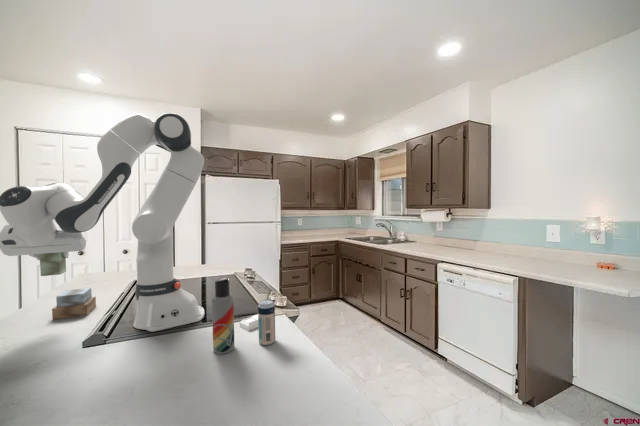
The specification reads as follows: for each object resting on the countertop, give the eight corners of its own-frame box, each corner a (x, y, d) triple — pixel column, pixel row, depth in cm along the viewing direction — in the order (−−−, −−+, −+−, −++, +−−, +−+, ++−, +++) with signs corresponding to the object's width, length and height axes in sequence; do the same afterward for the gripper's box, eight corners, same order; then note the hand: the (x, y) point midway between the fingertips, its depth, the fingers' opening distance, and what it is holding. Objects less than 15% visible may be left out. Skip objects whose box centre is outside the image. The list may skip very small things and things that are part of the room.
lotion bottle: (222, 356, 77) (220, 282, 76) (208, 351, 80) (206, 280, 79) (238, 347, 81) (237, 277, 81) (225, 342, 84) (223, 275, 84)
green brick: (66, 271, 101) (64, 243, 101) (60, 274, 96) (58, 244, 96) (47, 272, 99) (46, 244, 99) (40, 276, 94) (38, 246, 94)
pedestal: (96, 306, 116) (95, 286, 115) (87, 315, 106) (86, 294, 106) (64, 310, 112) (63, 290, 111) (52, 319, 103) (51, 297, 102)
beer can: (278, 340, 85) (277, 300, 85) (269, 347, 81) (268, 305, 81) (265, 337, 87) (264, 298, 87) (255, 344, 83) (254, 303, 83)
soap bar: (270, 323, 99) (270, 315, 98) (248, 332, 92) (248, 323, 92) (261, 319, 102) (261, 311, 102) (239, 327, 95) (239, 319, 95)
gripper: (81, 222, 95) (92, 247, 104) (-3, 225, 87) (17, 252, 96) (77, 237, 91) (89, 262, 100) (-12, 242, 83) (10, 268, 92)
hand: (53, 257), depth 98 cm, fingers closed on green brick, 5 cm apart
